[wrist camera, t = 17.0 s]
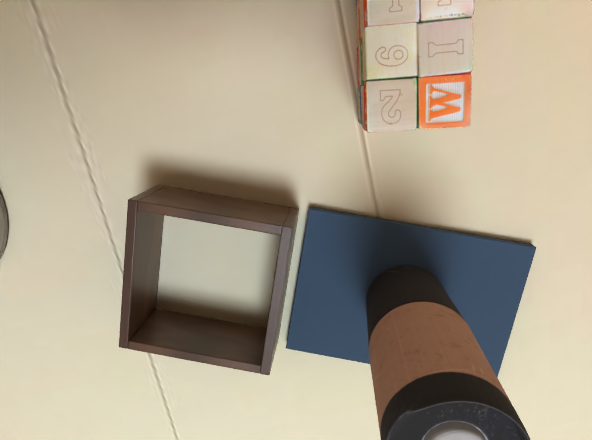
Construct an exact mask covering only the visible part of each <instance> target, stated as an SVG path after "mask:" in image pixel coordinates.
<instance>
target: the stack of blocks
mask: <svg viewBox="0 0 592 440" xmlns="http://www.w3.org/2000/svg"><path fill="white" fill-rule="evenodd" d="M356 6H357V37H358V48H357V70H358V121H359V123H360V124H361V125H362V127H363V129H364V130H365V131H367V132H382V131H402V130H416V128H419V129H434V128H451V127H466V126H470V125H471V72H472V70H473V20H472V18H471V17H472V15H473V13H474V0H356Z"/></svg>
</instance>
